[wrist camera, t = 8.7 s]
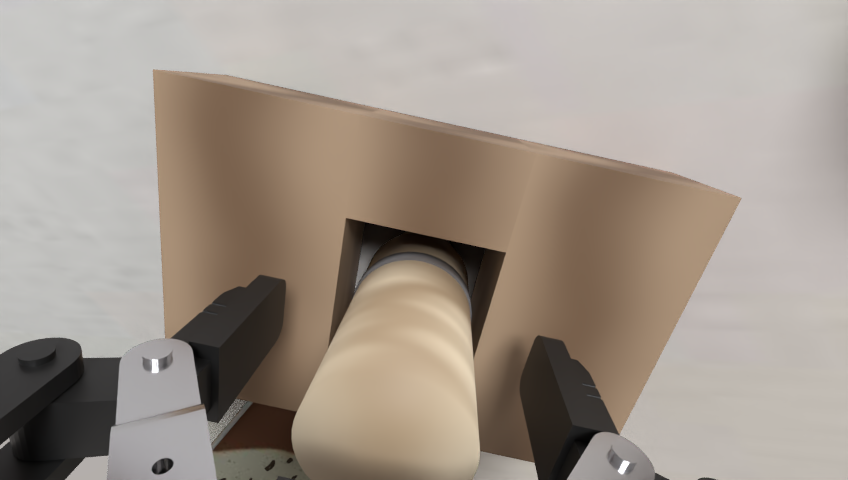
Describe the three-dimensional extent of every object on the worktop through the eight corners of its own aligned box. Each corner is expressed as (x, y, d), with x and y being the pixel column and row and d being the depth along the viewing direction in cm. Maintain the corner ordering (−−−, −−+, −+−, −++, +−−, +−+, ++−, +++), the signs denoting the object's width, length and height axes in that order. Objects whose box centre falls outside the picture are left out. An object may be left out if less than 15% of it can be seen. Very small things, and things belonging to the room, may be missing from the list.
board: (672, 172, 15) (741, 198, 12) (570, 403, 20) (597, 476, 16) (226, 75, 15) (153, 69, 12) (221, 328, 20) (167, 383, 16)
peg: (477, 227, 17) (506, 395, 8) (455, 308, 18) (457, 532, 9) (384, 207, 17) (297, 350, 8) (369, 289, 18) (282, 495, 9)
